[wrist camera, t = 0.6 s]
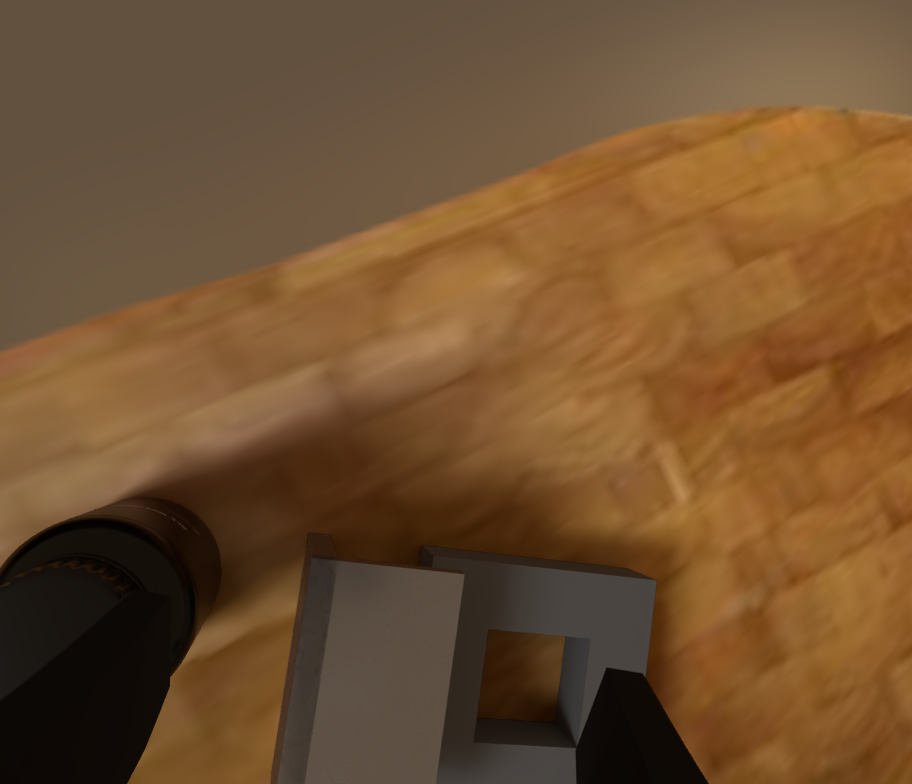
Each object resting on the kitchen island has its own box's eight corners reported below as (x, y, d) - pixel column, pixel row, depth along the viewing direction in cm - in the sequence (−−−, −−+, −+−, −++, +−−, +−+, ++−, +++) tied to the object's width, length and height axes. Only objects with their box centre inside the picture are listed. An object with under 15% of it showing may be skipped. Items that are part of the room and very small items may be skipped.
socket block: (602, 787, 37) (629, 817, 34) (389, 777, 35) (397, 809, 32) (628, 568, 38) (656, 580, 35) (422, 545, 36) (433, 555, 33)
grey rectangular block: (399, 777, 35) (425, 862, 28) (271, 771, 34) (265, 859, 27) (432, 546, 36) (464, 574, 29) (308, 532, 34) (312, 558, 28)
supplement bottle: (201, 476, 34) (150, 502, 22) (239, 619, 34) (210, 721, 22) (42, 520, 32) (-104, 572, 20) (82, 669, 32) (-40, 807, 20)
